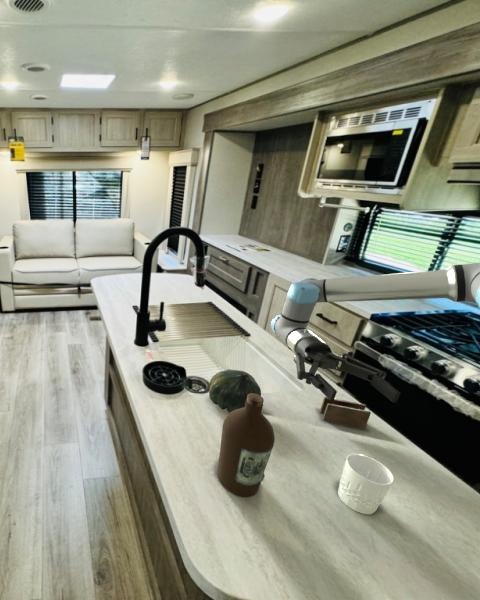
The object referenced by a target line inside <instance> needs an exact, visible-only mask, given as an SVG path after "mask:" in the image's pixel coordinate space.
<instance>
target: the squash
mask: <svg viewBox="0 0 480 600" xmlns="http://www.w3.org/2000/svg"><path fill="white" fill-rule="evenodd" d="M250 393H254V394H258V395H260V396H261V397H262V390H261V387H260V385H259V383H258V382H257V381H256V379H255V377H253V375H251V374H250V373H248V372H246V371H244V370H240V369H225V370H221V371H219V372H217V373H215V374H214V375H212V377H211V378H210V380H209V390H208V395H209V399H210V400H211V402H212V403H213V404H214V405H217V406H218V408H219V409H220V410H223V411H224V410H226V411H227V412H228V413H230V412H232V411H234V410H236V409H240V408H244V407H245V403H246V399H247V396H248V394H250Z"/></svg>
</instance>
